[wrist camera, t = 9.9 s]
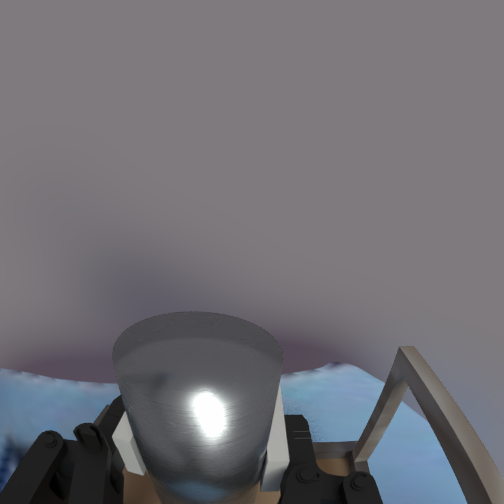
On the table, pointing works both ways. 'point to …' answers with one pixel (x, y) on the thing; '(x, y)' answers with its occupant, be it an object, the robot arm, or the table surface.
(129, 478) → the caster cart
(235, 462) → the steel cylinder
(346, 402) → the table surface
